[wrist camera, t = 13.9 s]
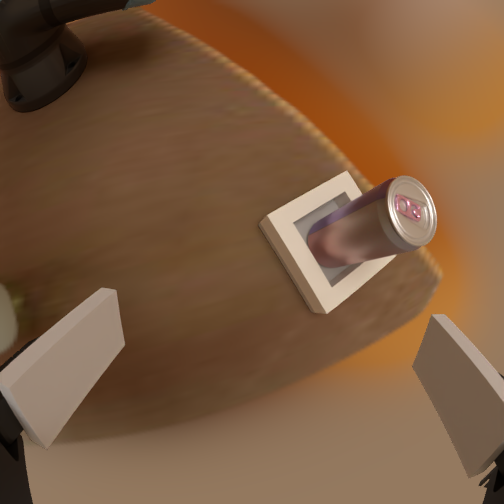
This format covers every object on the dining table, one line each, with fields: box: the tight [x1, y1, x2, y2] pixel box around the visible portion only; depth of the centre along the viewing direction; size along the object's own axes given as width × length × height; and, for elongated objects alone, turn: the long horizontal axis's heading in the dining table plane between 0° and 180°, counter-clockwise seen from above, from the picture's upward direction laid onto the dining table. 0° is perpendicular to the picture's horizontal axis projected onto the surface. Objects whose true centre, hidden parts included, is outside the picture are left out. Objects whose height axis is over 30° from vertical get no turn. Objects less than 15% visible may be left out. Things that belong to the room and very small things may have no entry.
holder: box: [258, 171, 396, 314], centre depth 32 cm, size 12×12×4 cm
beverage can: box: [308, 176, 437, 268], centre depth 26 cm, size 6×6×15 cm
